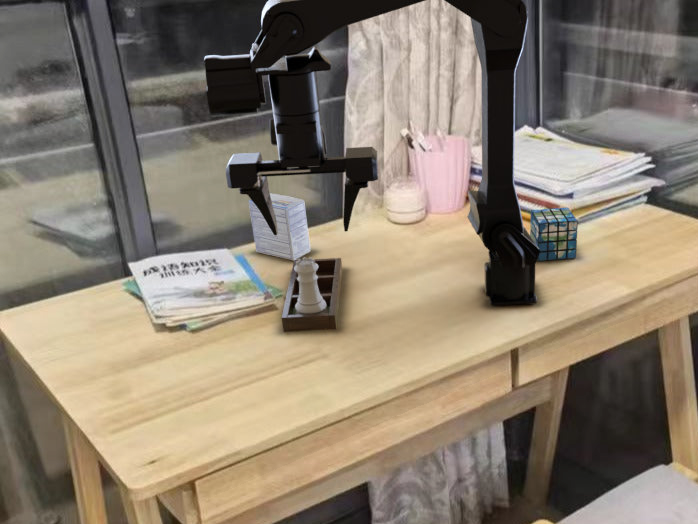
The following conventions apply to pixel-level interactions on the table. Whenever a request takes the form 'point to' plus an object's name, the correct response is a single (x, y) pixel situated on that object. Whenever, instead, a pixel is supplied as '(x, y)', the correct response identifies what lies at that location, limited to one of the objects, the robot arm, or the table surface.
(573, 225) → the puzzle
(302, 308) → the rook chess piece
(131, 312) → the table surface
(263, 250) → the medicine box
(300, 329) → the tray
